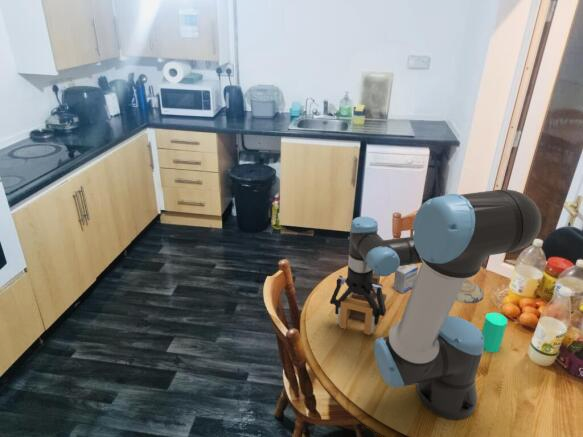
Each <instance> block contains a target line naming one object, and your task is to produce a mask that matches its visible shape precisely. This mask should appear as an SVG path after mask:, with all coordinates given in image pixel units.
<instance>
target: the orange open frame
mask: <svg viewBox="0 0 583 437" xmlns="http://www.w3.org/2000/svg"><path fill="white" fill-rule="evenodd" d="M349 309H352V310H356V311H360V312H364V313H366V316H365V322H364V327H363V328H364V329H363V335H364V334H365V335H369V336H371V334H372V333H370V332H371V322H372V315H373V308H371V307H370V305H369V303H368V302H366V301H362V300H357V299H353V298H349V296H348V297H347V298H346V299H345V300H344V301H341V309H340V325H339V328H341V329H346V328H347V326H348V324H349V318H348V315H349Z"/></svg>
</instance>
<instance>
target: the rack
mask: <svg viewBox="0 0 583 437" xmlns="http://www.w3.org/2000/svg"><path fill="white" fill-rule="evenodd" d="M372 281H373V284H375V285H378V286H379V284H380V281H381V276H379V275H377V274H376V273H375V272H374V271H373V279H372ZM371 293H372V296H373V298H374V300H375V301H376V303H377V305H378V301H377V296H376V293H375V291H374V289H373V288H372V289H371ZM382 294H383V299H384V303H385V302H386V299H387V293H382ZM348 297H349V298H353V299H357V300H362V301H366V302H368V301H367V299H365V297H364V295H359V294H354V293H353V292H352V293H351V294H350V295H348ZM378 307H379V305H378ZM365 316H366V313H364V312H360V311H356V310H352V309H349V315H348V319H350V320H355V321H358V322H361V323H362V322H363V323H365ZM380 317H381V316H379V318H380ZM375 326H378V324H375Z"/></svg>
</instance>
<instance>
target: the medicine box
mask: <svg viewBox="0 0 583 437" xmlns="http://www.w3.org/2000/svg"><path fill="white" fill-rule="evenodd" d="M418 272H419V267H418V266H417V265H416V264H410V265H405V266H399V267H398V269H397V270H396V272H394V279H393V286H392V287H393V290H395V291H397V292H398V293H401V294H402V295H403V294H404V293H406V292H408V291H409V290H412V288H413V286H414V283H415V280H416V277H417V275H418Z"/></svg>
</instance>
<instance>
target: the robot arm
mask: <svg viewBox="0 0 583 437" xmlns="http://www.w3.org/2000/svg"><path fill="white" fill-rule="evenodd" d="M350 223H351V224H350V230H349V250H348V261H347V262H348V263H347V265H348V266H347V276H346V277H343V276H342V275H339V276H338V278H337V279H336V286H335V288H334V291H333V293H332V296H331V298H330V301H329V303H330V305H334V306H335V308H334V310H335V311H334V312H335V314H336V315H337V325H339V326H340V309H341V301H344V300H345V299H346V298H347V297H349V296H350V294H351V293H352V292H353V293H354V294H359V295H364V297H365V299H367V301H368V303H369V305H370V307H371V308H373V315H372V322H371V332H370V333H371V334H373V333H374V331H375V327H376V325H375V324H377V325H378V324H379V322H380V321H379V320H380V317H385V315H386V312H387V309H386V304H385V303H384V299H383V294H384V293H383V287H384V286H383V284H380V283H379V286H378V285H375V284H373V281H372V279H373V271H374V272H375V273H376V274H377V275H379V276H380V277H388V276H391V275H392V274H395V272H396V270H397V269H398V268H400V267H401V266H405V265H410V264H414V265H417V264H420V267H419V268H418V272H417V277H416V280H415V283H414V286H413V288H411V291H410V294H409V296H408V300H407V302H406V305H405V307H404V309H403V312H402V316H401V319H400V320H399V321H397V322H395V323H394V324H392V325H391V327H390V329H389V332H388V334H387V336H385V337H383V336H380V337H379V338H377V339H376V340H375V341H374V344H373V352H374V358H375V361H376V365H377V368H378V371H379V373H380V375H381V377H382V379H383V380H384V382H385V383H386V384H387V386H389V387H390V388H400V387H403V388H404V387H405V386H411V385H415V384H416V389H415V390H416V394H417V398H418V400H419V401H420V403H421V404H422V406H424V407H425V408H426V409H427V410H428V411H429V412H431V413H432V414H434V415H435V416H438V417H440V418H444V419H448V420H463V419H466V418H468V417H470V416H471V415H472V414H473V413H474V411H475V410H476V407H477V403H478V393H477V388H476V381H475V379H476V376H477V374H478V369H479V366H480V363H481V358H482V357H483V353H484V349H483V345H484V337H483V335H482V330H480V329H479V328H478V326H476V324H474V323H472V322H470V321H469V320H466V319H464V318H462V317H460V316H454V315H449V314H450V312H451V311H452V309H453V306H454V304H455V302H456V301H455V300H456V298H457V296H458V294H459V292H460V289H461V287H462V285H463V283H464V281H465V279H470V278H472V277H475V276H476V275H478V274H479V272H480V270H481V268H482V266H483V264H484V262H485V260H486V259H487V257H489V256H495V255H501V254H507V253H512V252H513V253H514V252H515V251H518V250H521V249H523V248H527V247H528V246H530V245H531V244H532V243H533V242H534V241H535V240H536V238H537V237H538V235H539V233H540V231H541V227H542V215H541V212H540V209H539V207H538V205H537V204H536V203H535V201H534V200H533V199H532V198H530V197H529V196H528V195H526V194H525V193H523V192H520V191H517V190H513V189H504V188H503V189H494V190H487V191H478V192H477V191H476V192H470V193H463V194H457V193H449V194H448V193H447V194H444V195H442V196H436V197H432V198H429V199H428V200H426V201H425V202H424V203H422V204H421V206H420V207H419V208H418V210H417V212H416V213H415V217H414V219H413V223H412V231H413V232H414V233H413V235H412V236H408V237H399V238H392V239H391V238H390V239H383V238H382V237H381V236H380V235H379V233H378V231H379V228H378V221H377V220H376V219H374V218H372V217H371V216H370V217H369V216H358V217H355V218H353V219H352V220H351V222H350ZM344 284H346V286H347V289H345V291H344V292H343V293H342V295H341V296H340V297H339V298H338V299H337V296H338V294H339V293H340V290H341V288H342V286H343V285H344ZM372 288H373V289H374V291H375V293H376V296H377V301H378V305H379V307H378V305H377V303H376V301H375V300H374V298H373V296H372V293H371V289H372ZM379 316H380V317H379Z"/></svg>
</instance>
